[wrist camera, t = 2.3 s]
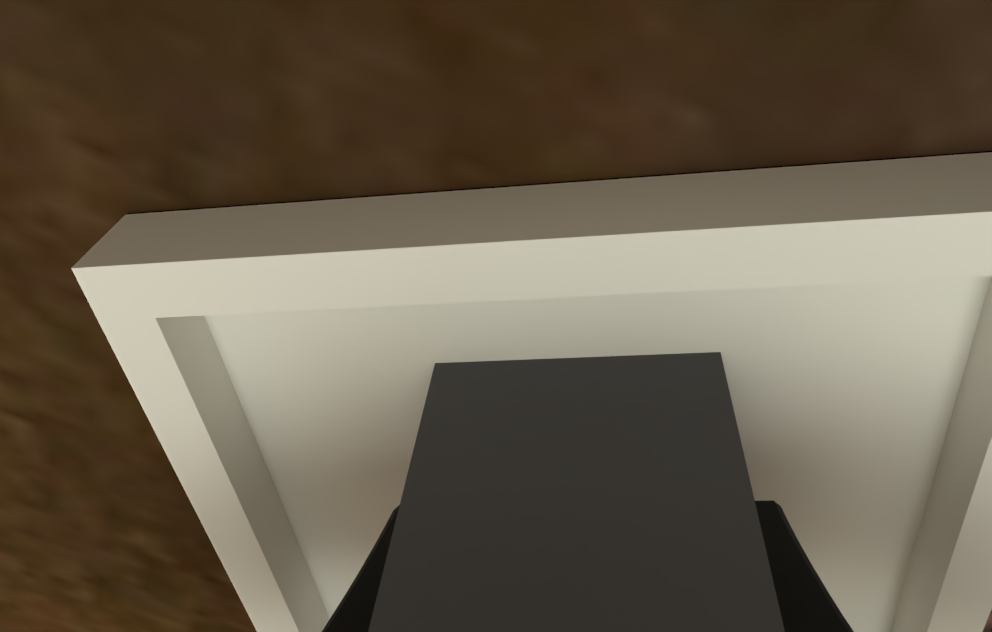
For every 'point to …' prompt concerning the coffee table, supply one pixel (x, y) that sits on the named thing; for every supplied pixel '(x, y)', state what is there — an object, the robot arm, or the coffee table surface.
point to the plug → (578, 503)
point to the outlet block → (988, 623)
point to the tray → (580, 333)
